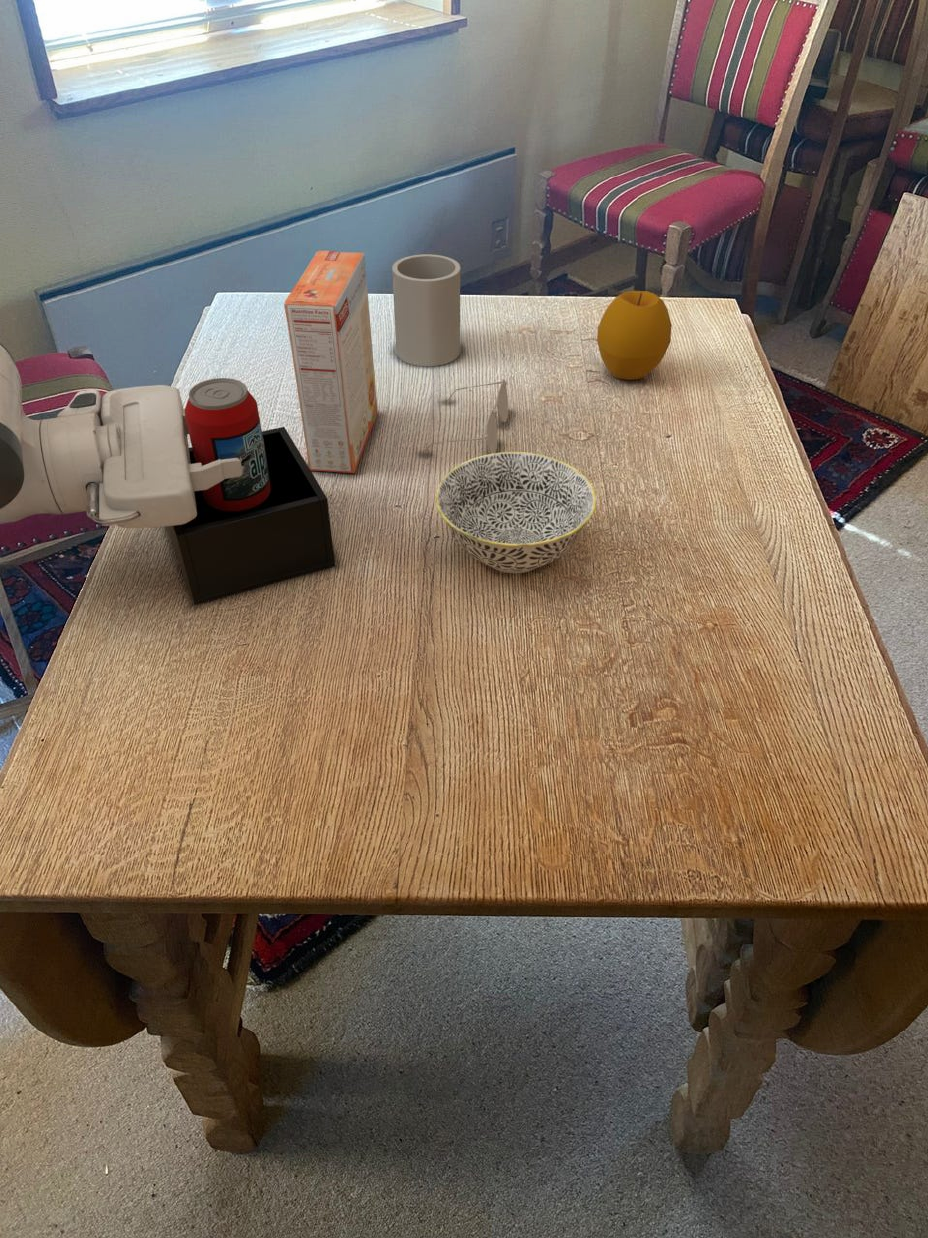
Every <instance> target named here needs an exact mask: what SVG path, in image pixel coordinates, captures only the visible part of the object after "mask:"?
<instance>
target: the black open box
mask: <svg viewBox="0 0 928 1238" xmlns="http://www.w3.org/2000/svg"><path fill="white" fill-rule="evenodd" d="M262 435H263V441H264V447H265V453H266V460H267V466H268V473H269V480H270V486H271V491H270V494H269V496H268V498H267V499H266V500H265V501H264V502H262V503H261V504H259V505H258V506H256V507H254V508H252V509H250V510H247V511H243V512H226V511H221V510H217V509H215V508H213V507H211V506H209V505H208V504H207V503H206V501H205V500H204V496H203V492H202V490H200V491H194V493H195V501H196V509H197V516H196V517H195V518H194V519H193V520H191V521H189V522H188V523H186V524H182V525H174V526H165V528H166V530H167V533H168V536H169V538H170V542H171V543H172V547H173V550H174V552H175V555H176V558H177V560H178V563H179V566H180V569H181V572H182V574H183V577H184V579H185V582H186V585H187V587H188V590H189V593H190V596H191V598H192V602H193V604H194V605H195V606H197V605H199V604H200V605H201V604H205V603H207V602H211V601H214V600H219V599H222V598H226V597H228V596H232V595H237V594H239V593H244V592H247V591H251V590H254V589H258V588H262V587H265V586H269V585H273V584H276V583H280V582H283V581H286V580H290V579H294V578H297V577H301V576H305V575H308V574H312V573H315V572H318V571H322V570H326V569H329V568H333V567H336V560H335V551H334V544H333V535H332V526H331V517H330V510H329V501H328V497H327V495H326V494H325V492H324V490H323V488H322V487H321V485H320V484H319V482H318V480H317V478H316V477H315V475H314V474H313V471H312V470H310V469H309V464H308V463H307V462H306V460H305V459H304V457H303V455H302V454H301V452H300V451H299V449H298V446H297V445H296V444H295V443H294V441H293V439H292V437H291V436H290V434H289V432H288V431H287V429H286V427H285V426H281V427H280V426H279V427H276V428H271V429H266V430H262ZM189 453H190V461H191V464H195V463H196V462H195V458H194V454H193V449H192V446H190V447H189Z"/></svg>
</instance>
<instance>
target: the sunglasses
mask: <svg viewBox="0 0 928 1238" xmlns="http://www.w3.org/2000/svg"><path fill="white" fill-rule="evenodd" d="M499 384H500V386H499V388H498V392H497V396H496V404H495V405H494V406H493V409H491V410H490V412H489V415H488V417H487V420H486V423H485V424H486V425H485V436H483V437H474V438H465V439H455V440H448V441H436V442H432V443H430V444H429V445H428V446H427V447H426V450H425V451H424V452H423V454H422V455H424V456H425V455H426V454H427V453H428V452H429V449H430V448H431V446H433V445H438V444H439V445H440V444H445V443H455V442H467V441H468V442H470V441H480V440H481V441H483V440H486V444H487V445H486V446H487V448H488V452H489V454H493V453H497V449H498V426H497V425H498V424H497V419H498V417H499V419H500V421H501V422H502V423H507V421H508V417H509V398H508V396H509V395H508V390H507V385H508V381H507V380H505V379H502V380H501V381H498V382H491V383H484V384H479V385H472V386H464V387H459V388H456V389H455V390H453V391H452V393H451V394H450V396H449V397H448V399H447V401H446V403H447V404H449V402H450V401H451V399H452V397H453V395H454V394H455V393H456V392H458V391H460V390H465V389H469V388H470V389H471V388H477V387H483V386H493V385H499ZM496 409H497V411H496ZM497 416H498V417H497Z"/></svg>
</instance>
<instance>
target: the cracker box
mask: <svg viewBox="0 0 928 1238" xmlns="http://www.w3.org/2000/svg"><path fill="white" fill-rule="evenodd" d="M369 301H370V300H369V290H368V279H367V267H366V255H365V252H349V251H348V252H346V251H345V252H344V251H335V250H317V251H316V253H315V254H314V256H313V258H312V259H311V261H310V262H309V264H308V265H307V267H306V269H305V270H304V272H303V273H302V275H301V276H300V278H299V280H298V281H297V282H296V284H295V286H294V287H293V289H292V290H291V292H290V293H289V294H288V296H287V297H286V299H285V301H284V302H283V305H284V311H285V318H286V324H287V331H288V337H289V345H290V350H291V356H292V357H291V358H292V364H293V369H294V377H295V384H296V391H297V397H298V403H299V411H300V417H301V423H302V430H303V431H302V432H303V438H304V443H305V448H306V449H305V450H306V456H307V457H306V458H307V465H308V467H309V469H310V470H311V471H312V472H313V471H314V472H315V471H316V472H328V473H329V472H330V473H341V474H355V473H356V470H357V469H358V466H359V462H360V461H361V458H362V455H363V453H364V450H365V447H366V445H367V442H368V440H369V437H370V434H371V432H372V429H373V427H374V424H375V421H376V419H377V417H378V413H379V411H378V400H377V387H376V377H375V375H376V374H375V364H374V353H373V340H372V326H371V314H370V304H369V303H370V302H369Z"/></svg>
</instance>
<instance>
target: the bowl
mask: <svg viewBox="0 0 928 1238" xmlns="http://www.w3.org/2000/svg"><path fill="white" fill-rule="evenodd" d="M435 505H436V507H437V511H438V513H439V514H440V516H441V518H442V519H443V521H445V522H446V524H447V526H448V528H449V530H450V532H451V534H452V537H454V539H455V541H456V542H457V543H458V545H459V546H460V548H462V550H463V551H465V553H467V555H469V556H470V557H471V558H473V559H474V560H476V561H477V562H480V563H482V564H484V565H486V566H488V567H491V568H492V569H494V570H496V571H498V572H501V573H507V574H524V573H527V572H531V571H533V570H536V569H538V568H541V567H545V566H547V565H548V564H551V563H553V562H554V561H556V560H557V559H560V557H562V556H563V555H565V553H566V552H567V551H568V550H570V548H571V547H572V545H573V544H574V543H575V542H576V540H577V539H578V537H579V535H580V534H581V532H582V530H583V529H584V527H585V526H586V525H587V524H588V523H589V521H590V520H591V518H592V517H593V515H594V514H595V510H596V508H597V496H596V490H595V488H594V487H593V484H592V483H591V481H590V480H589V479H588V478H587V477H586V475H584V474H583V473H582V472H580V471H579V470H578V469H576V468H575V467H574V466H572V465H571V464H569V463H567V462H564V461H562V460H559V459H557V458H554V457H551V456H547V455H543V454H540V453H539V454H538V453H532V452H527V451H525V452H524V451H504V452H503V451H502V452H496V453H493V454H490V453H488V454H485V455H480V456H476V457H473V458H470V459H468V460H466V461H464V462H462V463H460V464H458V465H457V466H455V467H453V468H452V469H451V470H450V471H448V472H447V473H446V474H445V476H444V477H443V478H442V479H441V480H440V482H439V484H438V486H437V489H436V491H435Z"/></svg>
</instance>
